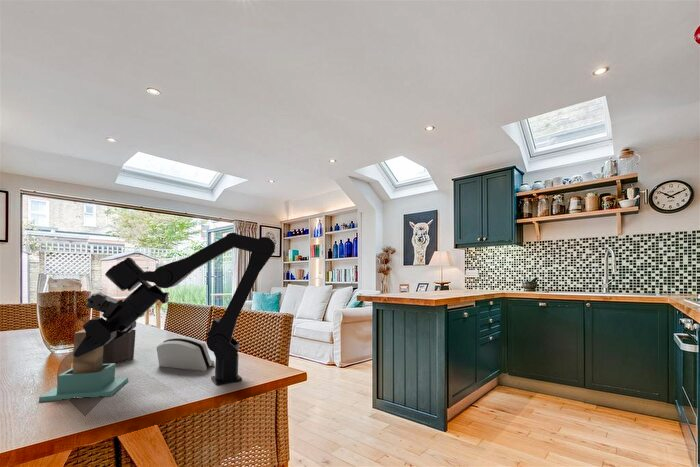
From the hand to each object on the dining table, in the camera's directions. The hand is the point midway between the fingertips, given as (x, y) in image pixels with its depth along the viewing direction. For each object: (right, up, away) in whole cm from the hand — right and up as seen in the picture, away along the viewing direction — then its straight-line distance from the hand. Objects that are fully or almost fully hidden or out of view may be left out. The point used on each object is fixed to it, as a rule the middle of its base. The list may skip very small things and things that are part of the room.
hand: (83, 352), depth 86 cm
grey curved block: (+15, -11, +19) cm, 27 cm away
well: (+1, -9, -1) cm, 9 cm away
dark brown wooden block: (-10, -12, +25) cm, 30 cm away
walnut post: (+1, -8, 0) cm, 8 cm away
